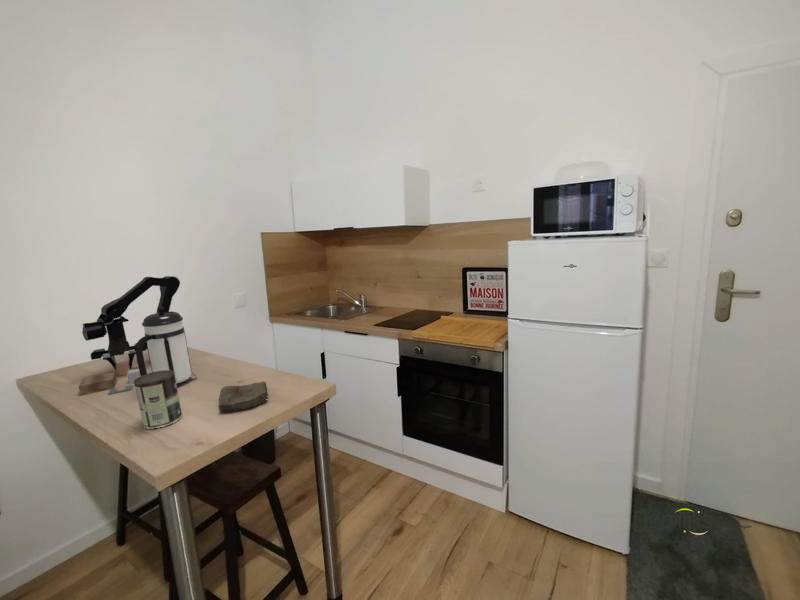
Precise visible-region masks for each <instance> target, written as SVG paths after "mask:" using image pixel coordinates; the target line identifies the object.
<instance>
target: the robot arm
mask: <svg viewBox="0 0 800 600" xmlns="http://www.w3.org/2000/svg"><path fill="white" fill-rule="evenodd" d="M180 285H181V281H180V279H179V277H177V276H171V275H166V276H163V277H152V276H145V277H143V278H142V280H141V281H139V282H138V283H137V284H135V285H134V286H132V287H131V288H130V289H128V290H127V291H126V292H125V293H124V294H122V295H121V296H120V297H118V298H116V299H114V300H111V301H110V302H108V303H106V304H104V305H102V307H101V309H100V310H101V311H100V312H101V313H100V315H99V316H98V318H97V320H96V321H93V322H85V323H82V331H81V332H82V333H81V334H82V336H83V338H84V340H85V341H91V340H96V339H100V338H104V337H105V336H106V335H107V338H108V346H107V349H105V348H99V349H94V350H92V352H91V353H90V359H91V360H98V359H99V360H100V359H102V360H106V361H107V362H108V363H110V365H111V366H112V367H113V369H114V371H116V364H117V363H118V362H117V360H116V357H117V356H122V355H125V352H129V353H128V354H127V355H128V361H129V366H130V369H131V368H133V362H134V359H135V356H136V345H137V342H135V343H134V345H130V343H129V341H128V340H127V336H126V331H125V327H124V323H125V322H129V319H128V318H126V317H125V316H122V315H123V314H124V313H125V312H126V311H127V309H128V307H129V306H130V305H131V304H132V303H133V302H134V301H136V300H137V299H138V298H140V297H141V295H143V294H144V293H145V292H146V291H148V290H149V289H150V288H152V287H159V291H160V297H159V301H158V304H157V308H158V307H159V306H162V307H164V311H163V312H170V309H171V304H172V301H173V297H174V295H175V294H176V293H177V292H178V290H179V288H180ZM155 313H159V312H158V311H157V310H156V312H155ZM147 346H148V345H147V344H146V342H145V343H144V345H143V348H142V351H143V352H145V351H148V349H147ZM115 356H116V357H115Z"/></svg>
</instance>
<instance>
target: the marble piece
mask: <svg viewBox="0 0 800 600" xmlns="http://www.w3.org/2000/svg"><path fill="white" fill-rule="evenodd" d="M267 386H268V385H267V383H266V381H264V380H263V381H261V382H254V383H251V384H244V385H226V386H223V387H222V388H221V390H220V391H219V397H218V401H219V402H218V410H219V412H220V413H221V414H222V412H223V413H226V411H229V412H236V411H235V410H237V411H240V410H246V409H249V408H254V407H257V406H259V405H260V404H262V403H264V402H263V401H265V400H266V399H268V400H269V393H268V394H267V390H268V387H267ZM267 396H268V397H267ZM261 402H262V403H261ZM265 402H266V401H265ZM259 403H260V404H259ZM258 404H259V405H258ZM256 405H257V406H256Z"/></svg>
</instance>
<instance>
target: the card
mask: <svg viewBox="0 0 800 600" xmlns="http://www.w3.org/2000/svg"><path fill="white" fill-rule="evenodd" d="M133 387H134V384H129V385H124V386H120V387H115V388H114V389H110V390H109V391H108V393H107V395H108V396H110V395H114V394H120V393H124V392H129V391H132V389H133Z"/></svg>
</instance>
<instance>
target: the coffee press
mask: <svg viewBox="0 0 800 600" xmlns="http://www.w3.org/2000/svg"><path fill="white" fill-rule="evenodd" d="M157 311H158V312H159V313H156V312H157ZM163 311H164V307H162V306H159V307H158V306H157V309H156V312H155V313H153V314H149V315H146V317H145V318H144V319H143V321H142V323H141V326H142V327H143V330H144V336H142V337H140V338H139V340H138V341H137V342H136V343H137V345H136V354H135V356H136V361H137V367H138V369H139V372H140V375H141V376H143V375H145V374H148V372H147V368H146V363H145V362H146V361H145V357H144V351H142V348H143V345H144V343H145V342H146V344H147V354H148V359H149V363H150V368H151V373H153V372H157V371H164V370H171V371H174V372H175V380H176V385H177V384H180V383H182V382H186V381H187V380H189V379H191V380H193V379H194V378H193V377H195V380H196V379H197V375H196V374H194V372H193V371H192V366H191V365H192V364H191V359H190V354H189V348H188V345H187V344H188V342H187V338H186V333H185V332H186V330H185V327H184V324H183V320H184V317H183V316H181V314H180V313H179V312H178V311H169V312H163ZM192 375H193V377H191V376H192ZM177 386H178V385H177Z"/></svg>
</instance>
